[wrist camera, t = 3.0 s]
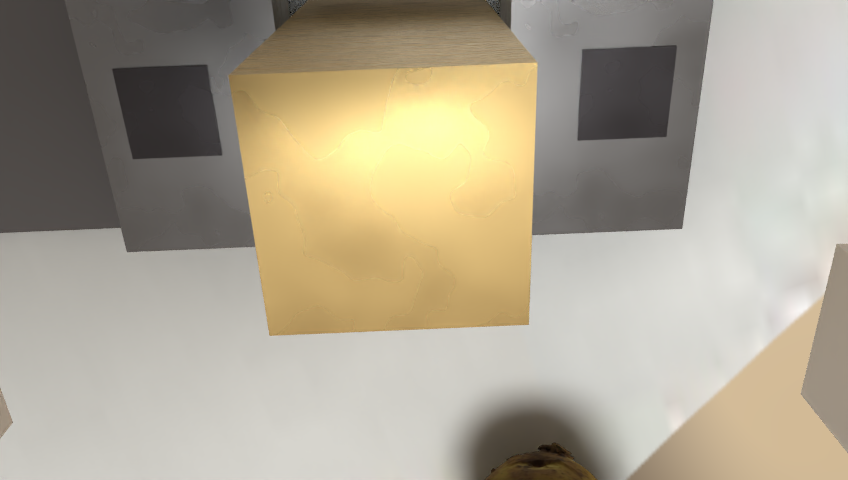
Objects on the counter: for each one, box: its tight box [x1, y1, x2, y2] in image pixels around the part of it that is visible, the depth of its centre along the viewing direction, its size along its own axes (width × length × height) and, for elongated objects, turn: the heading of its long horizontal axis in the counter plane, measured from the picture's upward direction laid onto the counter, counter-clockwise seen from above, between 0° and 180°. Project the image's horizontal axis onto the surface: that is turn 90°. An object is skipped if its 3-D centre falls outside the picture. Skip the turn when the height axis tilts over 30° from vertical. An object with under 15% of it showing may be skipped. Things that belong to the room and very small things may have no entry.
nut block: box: [228, 0, 538, 336], centre depth 20 cm, size 6×6×12 cm
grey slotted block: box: [65, 0, 713, 252], centre depth 24 cm, size 20×10×3 cm, turn 92°
